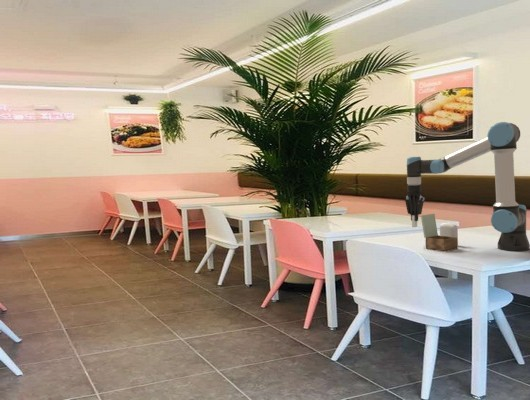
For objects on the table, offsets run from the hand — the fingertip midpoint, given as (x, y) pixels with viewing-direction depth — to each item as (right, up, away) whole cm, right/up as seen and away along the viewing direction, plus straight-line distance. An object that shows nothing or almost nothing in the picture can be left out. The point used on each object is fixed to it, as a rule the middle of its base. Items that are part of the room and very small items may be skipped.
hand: (414, 226), depth 282 cm
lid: (+6, +1, -8) cm, 10 cm away
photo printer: (+18, -10, -2) cm, 21 cm away
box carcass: (+10, -11, -13) cm, 20 cm away
